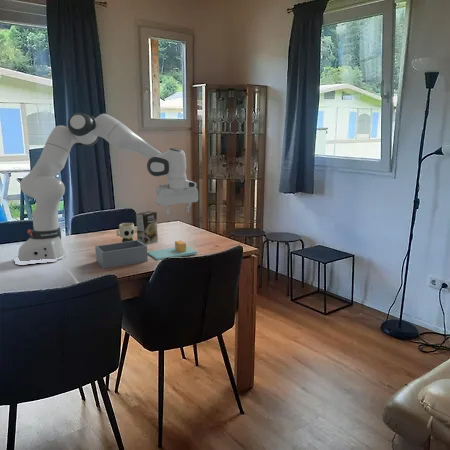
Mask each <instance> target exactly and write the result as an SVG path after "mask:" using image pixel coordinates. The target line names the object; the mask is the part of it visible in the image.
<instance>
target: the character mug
mask: <svg viewBox="0 0 450 450" xmlns="http://www.w3.org/2000/svg"><path fill="white" fill-rule="evenodd" d="M118 227H119V229H116V236H117V237H119V236H120V238H122V239H121V242H127V241H134V239H133V237H135V234H136V233H137V225H136V226H135V224H134V223H133V222H122V223H120V224H119V225H118Z"/></svg>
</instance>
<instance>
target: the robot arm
mask: <svg viewBox="0 0 450 450" xmlns="http://www.w3.org/2000/svg"><path fill="white" fill-rule="evenodd" d="M99 137H100V138H103V140H105V141H106V142H107V143H109V144H110V145H112V146H113V147H115V148H117V149H119V150H122V151H130V152H135V153H138V154H140V155H142V156H143V157H145V158H146V159H148V161H147V164H146V170H147V172H148V173H149V175H151V176H153V177H163V176H166V177H167V184H160V185H158V186H157V187H156V190H155V191H156V204H157V205H158V206H163V208H164V209H165V210H166V214H167V215H172V214H171V212H172V210H170V209H169V205H170V206H171V205H179V204H187V206H186V207H185V208H184V212H185V213H190V208H191V206H192V203H197V202H198V201H199V190H198V188H197V186H198V185H197V184H198V183H196V182H194V181H191V180H189V179H188V178H187V173H186V171H187V157H186V153H185V151H184V150H183V149H179V148H168V149H166V151H164V152H162V151H161V150H159V149H158V148H156V147H155V146H153V145H152V144H150V143H149V142H147V141H145V140H144V139H143V138H142V137H140V136H139V135H138V134H136V133H135V132H134V131H132V130H131V129H130V128H129V127H128V126H127V125H125V124H124V122H123V123H122V122H121V121H120V120H118V119H117V118H115V117H114V116H111V115H109V114H107V113H100V114H99V115H98V116H96V117H95V116H93V115H92V114H87V113H83V112H74V113H72V114H71V115H69V117H68V119H67V126H66V125H56V126H55V127H54V128H53V129H52V131H51V132H50V134H49V136H48V137H47V139H46V142H45V144H44V146H43V148H42V151H41V154H40V156H39V158H38V160H37V162H36V163H35V165H34V166H33V167H32V169H31V171H29V173H28V174H27V175H25V176H23V178H22V179H21V181H20V190H21V192H22V193H23V194H24V195H26V196H27V197H29V198H33V199H35V201H36V203H35V207H34V210H33V211H32V212H31V218H32V224H33V225H32V227H33V229H28V230H27V234H29V238H28V239H27V240H26V241H25V242H24V243H23V244H21V245H20V247H19V249H18V254H17V255H18V258H19V260H20V261H30V260H40V259H41V260H42V259H56V258H59V257H61V256H63V255H64V254H65V255H66V252H65V250H64V247H63V243H62V230H61V227H60V223H59V205H60V201H61V199H62V197H63V196H64V195H65V192H66V191H65V190H66V186H65V184H64V182H63V181H62V180H60V179H59V178H56V176H57V175H58V174H59V173H60V172H61V171H62V170H63V169H64V168H65V166H66V163H67V160H68V158H69V155H70V152H71V151H72V150H71V149H72V148H73V146H74V145H76V146H83V147H91V146H93V145H95V144H96V143H97V142H98V140H99Z"/></svg>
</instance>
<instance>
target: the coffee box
mask: <svg viewBox="0 0 450 450" xmlns="http://www.w3.org/2000/svg"><path fill="white" fill-rule="evenodd" d="M135 216H136V217H135V218H136V227H137V234H136V235H137V238H136V240H139V241H140V242H142V243H143V244H145V245H146V246H149V245H151V244H155V243H158V242H159V241H158V239H159V238H158V237H159V235H158V213H157V212H156V211H149V210H148V211H143V212H138V213H136V214H135Z"/></svg>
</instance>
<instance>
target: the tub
mask: <svg viewBox="0 0 450 450" xmlns="http://www.w3.org/2000/svg"><path fill="white" fill-rule="evenodd" d="M94 247H95V258H96V263H97V264H98V265H99V266H100V267H101V268H102V270H106V269H110V268H117V267H123V266H128V265H135V264H139V263H146V262H148V257H149V256H148V254H147V252H148V245H145V244H143V243H142V242H140V241H139V240H137V239H136V240H135V239H133V241H127V242H122V241H121V242H115V243H108V244H100V245H95V246H94Z"/></svg>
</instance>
